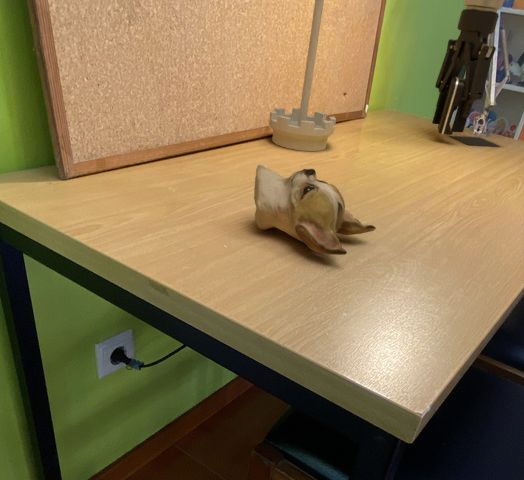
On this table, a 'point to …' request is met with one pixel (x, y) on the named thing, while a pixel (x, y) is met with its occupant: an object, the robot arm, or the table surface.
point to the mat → (474, 141)
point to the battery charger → (451, 104)
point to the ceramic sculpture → (304, 209)
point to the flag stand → (304, 107)
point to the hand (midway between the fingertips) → (447, 127)
